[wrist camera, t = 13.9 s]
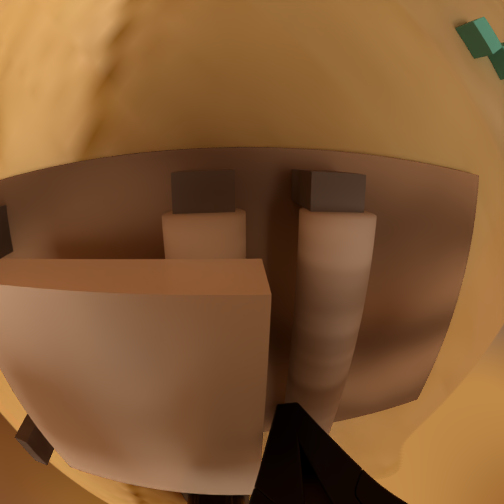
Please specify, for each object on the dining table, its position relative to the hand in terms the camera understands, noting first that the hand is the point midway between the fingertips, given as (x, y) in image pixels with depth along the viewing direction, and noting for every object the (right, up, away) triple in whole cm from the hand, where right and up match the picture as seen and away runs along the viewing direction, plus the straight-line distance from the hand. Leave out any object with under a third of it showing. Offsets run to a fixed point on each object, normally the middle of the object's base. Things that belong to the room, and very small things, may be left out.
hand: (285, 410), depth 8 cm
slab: (-5, 0, +1) cm, 5 cm away
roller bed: (-2, +2, +5) cm, 6 cm away
